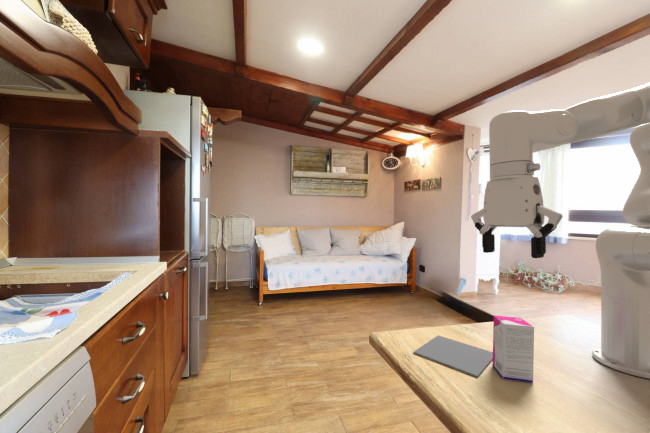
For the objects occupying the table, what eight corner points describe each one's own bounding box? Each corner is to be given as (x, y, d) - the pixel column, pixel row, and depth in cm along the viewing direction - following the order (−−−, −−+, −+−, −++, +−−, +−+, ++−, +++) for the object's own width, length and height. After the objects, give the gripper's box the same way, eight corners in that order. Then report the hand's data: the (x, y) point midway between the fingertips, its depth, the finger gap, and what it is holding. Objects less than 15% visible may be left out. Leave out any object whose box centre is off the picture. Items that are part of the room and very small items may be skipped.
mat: (496, 355, 68) (496, 353, 68) (477, 377, 58) (477, 375, 58) (438, 336, 78) (438, 335, 78) (413, 353, 68) (413, 351, 68)
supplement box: (534, 383, 56) (535, 326, 56) (502, 379, 57) (502, 324, 57) (520, 368, 62) (521, 316, 62) (491, 365, 63) (491, 314, 63)
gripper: (570, 167, 52) (571, 258, 52) (482, 179, 68) (483, 249, 68) (549, 164, 49) (550, 261, 49) (461, 177, 64) (462, 251, 64)
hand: (511, 254), depth 58 cm, fingers open, 9 cm apart
